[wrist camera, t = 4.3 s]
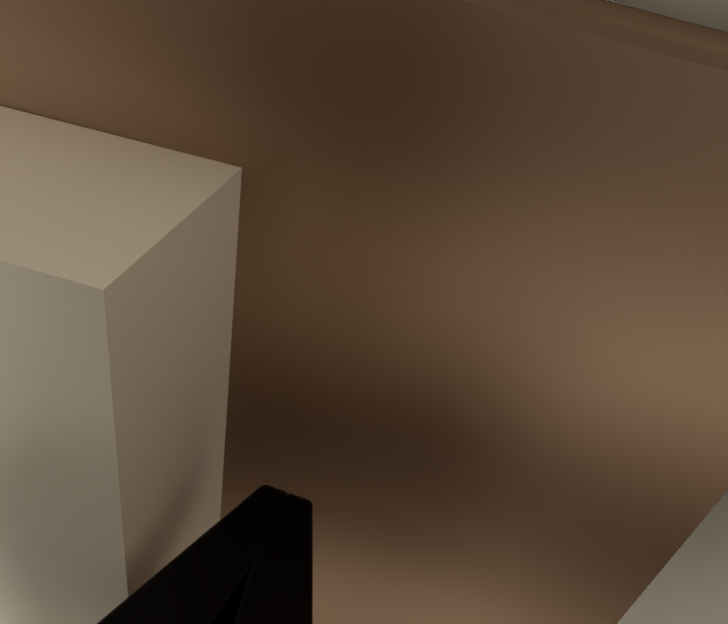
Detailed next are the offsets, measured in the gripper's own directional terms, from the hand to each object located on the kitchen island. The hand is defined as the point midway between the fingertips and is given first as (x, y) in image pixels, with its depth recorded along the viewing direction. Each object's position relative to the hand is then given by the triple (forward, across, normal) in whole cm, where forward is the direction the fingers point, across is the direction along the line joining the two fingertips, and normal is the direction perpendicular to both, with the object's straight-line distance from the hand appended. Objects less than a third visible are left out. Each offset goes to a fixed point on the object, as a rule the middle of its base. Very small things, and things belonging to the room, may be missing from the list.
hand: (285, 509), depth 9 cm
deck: (+5, +2, 0) cm, 6 cm away
